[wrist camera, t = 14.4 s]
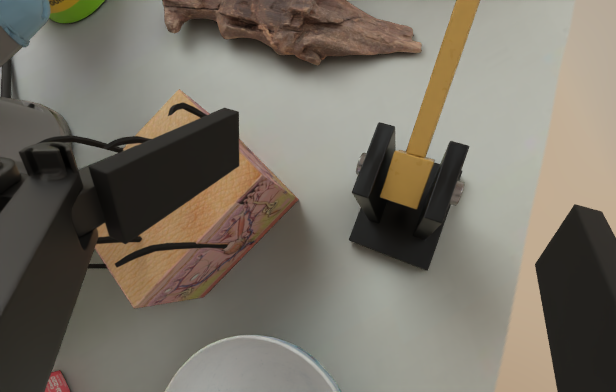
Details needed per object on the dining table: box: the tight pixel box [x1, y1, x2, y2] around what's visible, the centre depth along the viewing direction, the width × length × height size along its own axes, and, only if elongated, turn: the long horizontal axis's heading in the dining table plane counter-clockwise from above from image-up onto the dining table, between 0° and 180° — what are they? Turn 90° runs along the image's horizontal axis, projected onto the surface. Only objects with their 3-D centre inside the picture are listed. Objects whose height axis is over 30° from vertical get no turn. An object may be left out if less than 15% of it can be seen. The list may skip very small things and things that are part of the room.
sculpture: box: [162, 0, 422, 65], centre depth 35 cm, size 10×30×4 cm, turn 69°
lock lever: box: [380, 0, 480, 209], centre depth 19 cm, size 13×6×2 cm, turn 158°
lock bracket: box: [349, 122, 469, 271], centre depth 24 cm, size 9×7×13 cm
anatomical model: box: [37, 89, 299, 309], centre depth 28 cm, size 16×11×15 cm
